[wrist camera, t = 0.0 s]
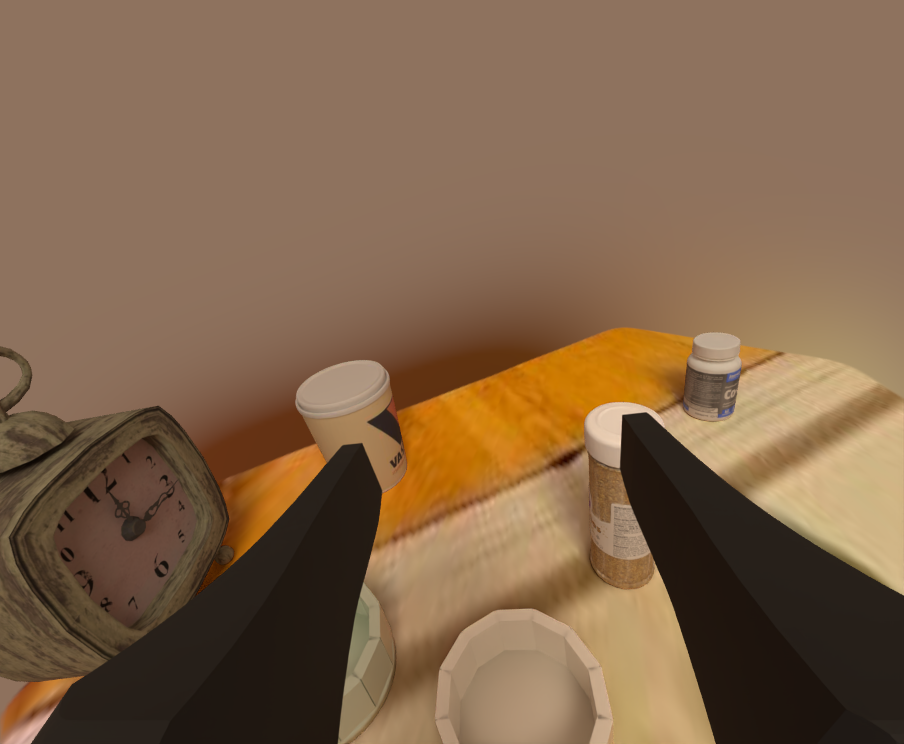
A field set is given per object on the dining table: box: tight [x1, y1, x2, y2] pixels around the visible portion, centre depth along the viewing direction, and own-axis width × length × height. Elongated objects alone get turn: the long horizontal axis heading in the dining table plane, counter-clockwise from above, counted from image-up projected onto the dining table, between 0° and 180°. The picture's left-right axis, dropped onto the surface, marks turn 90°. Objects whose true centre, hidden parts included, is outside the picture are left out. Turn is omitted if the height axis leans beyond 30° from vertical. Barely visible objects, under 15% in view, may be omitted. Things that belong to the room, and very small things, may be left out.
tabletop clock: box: [0, 347, 234, 682], centre depth 28 cm, size 14×9×25 cm, turn 1°
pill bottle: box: [683, 333, 742, 421], centre depth 43 cm, size 5×5×8 cm
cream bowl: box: [435, 609, 613, 744], centre depth 22 cm, size 9×9×4 cm
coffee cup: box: [296, 360, 407, 493], centre depth 43 cm, size 9×9×12 cm
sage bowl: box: [338, 582, 396, 744], centre depth 27 cm, size 9×9×4 cm
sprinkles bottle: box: [584, 402, 665, 589], centre depth 28 cm, size 5×5×14 cm
